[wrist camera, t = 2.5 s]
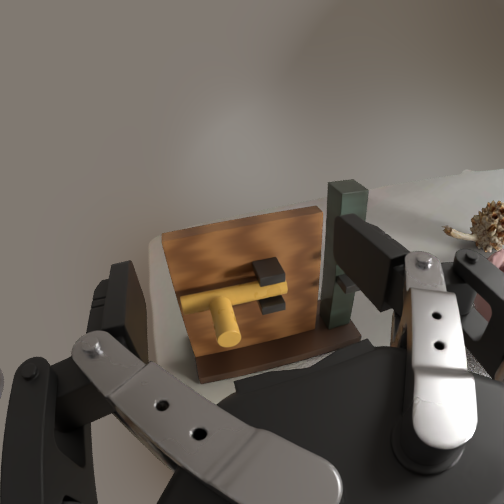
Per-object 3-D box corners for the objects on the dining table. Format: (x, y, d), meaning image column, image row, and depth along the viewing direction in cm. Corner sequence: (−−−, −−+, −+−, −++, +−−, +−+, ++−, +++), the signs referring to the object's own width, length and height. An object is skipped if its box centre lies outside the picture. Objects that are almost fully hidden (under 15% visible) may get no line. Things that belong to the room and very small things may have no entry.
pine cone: (493, 231, 56) (504, 191, 50) (520, 254, 48) (534, 212, 42) (426, 244, 53) (436, 197, 48) (455, 274, 45) (471, 223, 40)
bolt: (190, 355, 25) (185, 340, 24) (183, 307, 30) (179, 291, 29) (304, 329, 27) (305, 313, 26) (282, 286, 32) (281, 270, 31)
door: (200, 384, 34) (155, 240, 23) (192, 335, 40) (157, 199, 30) (360, 342, 37) (388, 199, 26) (334, 302, 43) (345, 170, 33)
